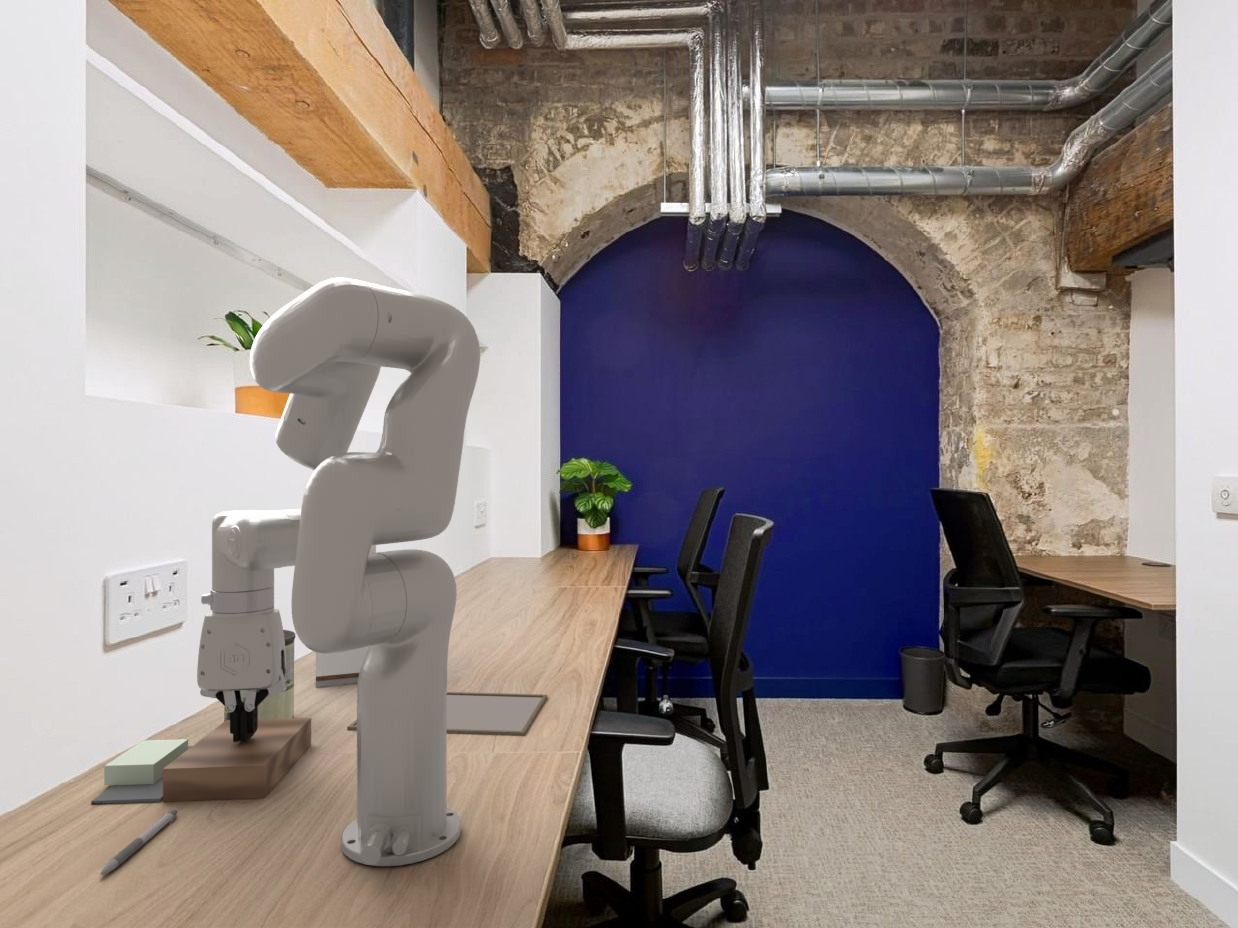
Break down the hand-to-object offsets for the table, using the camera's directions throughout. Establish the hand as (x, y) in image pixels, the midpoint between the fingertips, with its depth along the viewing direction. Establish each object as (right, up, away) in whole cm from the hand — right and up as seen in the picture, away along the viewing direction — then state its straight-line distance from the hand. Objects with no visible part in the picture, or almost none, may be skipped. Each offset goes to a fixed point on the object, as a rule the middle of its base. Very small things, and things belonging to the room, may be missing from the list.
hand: (243, 738), depth 102 cm
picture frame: (+23, -5, +24) cm, 34 cm away
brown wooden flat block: (0, -4, 0) cm, 4 cm away
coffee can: (-7, -5, +19) cm, 20 cm away
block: (-12, -2, -1) cm, 12 cm away
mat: (-10, -4, -1) cm, 11 cm away
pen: (-1, -5, -20) cm, 21 cm away
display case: (-3, -5, +46) cm, 46 cm away
